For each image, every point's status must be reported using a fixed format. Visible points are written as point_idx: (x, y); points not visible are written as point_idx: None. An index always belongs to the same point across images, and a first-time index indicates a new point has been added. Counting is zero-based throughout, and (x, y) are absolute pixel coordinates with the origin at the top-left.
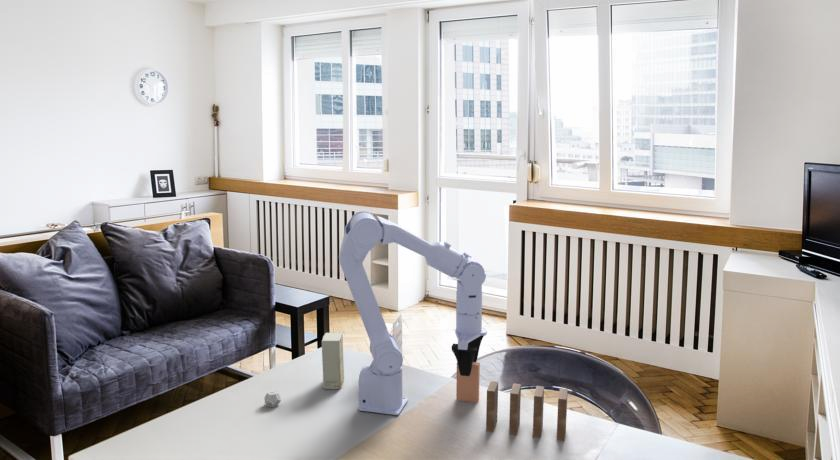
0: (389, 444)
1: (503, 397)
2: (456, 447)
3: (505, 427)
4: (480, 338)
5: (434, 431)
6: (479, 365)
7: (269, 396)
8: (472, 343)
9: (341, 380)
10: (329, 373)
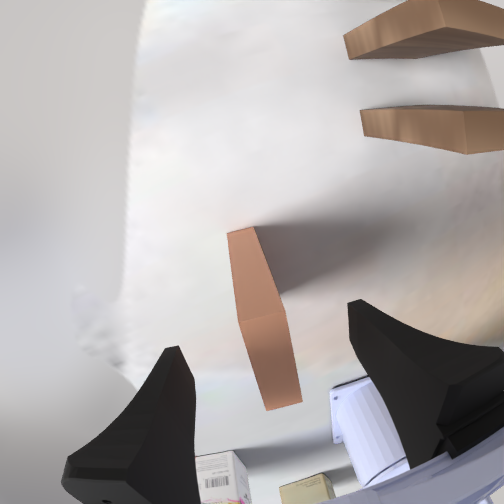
0: (500, 302)
1: (159, 158)
2: (500, 178)
3: (386, 75)
4: (143, 461)
5: (458, 256)
6: (245, 311)
7: None
8: (174, 453)
9: (317, 486)
10: None
